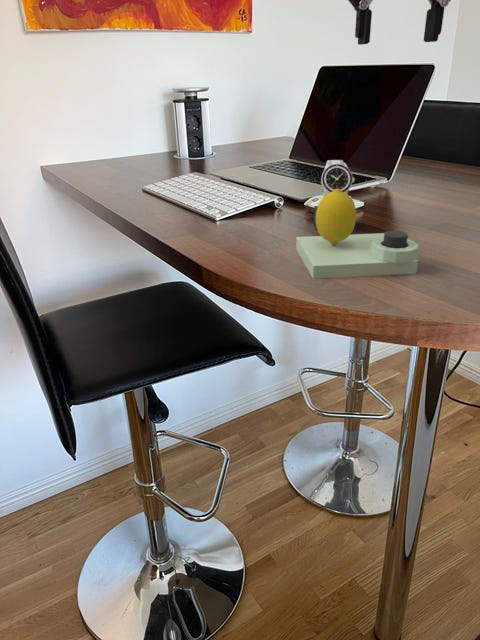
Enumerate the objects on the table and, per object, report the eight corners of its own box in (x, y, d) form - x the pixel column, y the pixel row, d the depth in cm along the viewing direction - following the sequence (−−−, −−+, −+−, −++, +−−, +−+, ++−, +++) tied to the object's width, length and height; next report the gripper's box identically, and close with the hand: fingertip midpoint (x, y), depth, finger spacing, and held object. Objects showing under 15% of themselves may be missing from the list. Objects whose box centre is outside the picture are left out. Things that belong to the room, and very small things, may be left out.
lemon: (348, 238, 74) (353, 183, 70) (357, 251, 69) (363, 193, 65) (311, 239, 74) (314, 184, 70) (317, 252, 69) (321, 194, 65)
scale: (388, 244, 77) (391, 222, 75) (421, 275, 66) (425, 250, 64) (295, 248, 76) (296, 226, 74) (313, 280, 65) (315, 255, 63)
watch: (317, 234, 82) (321, 165, 77) (312, 220, 89) (315, 156, 84) (351, 234, 82) (357, 165, 76) (344, 220, 89) (349, 156, 84)
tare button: (401, 242, 68) (402, 229, 67) (409, 249, 66) (411, 236, 65) (379, 243, 68) (381, 230, 67) (387, 250, 65) (389, 237, 65)
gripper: (464, -107, 66) (444, 41, 73) (335, -105, 64) (329, 46, 72) (496, -126, 59) (470, 39, 67) (353, -125, 58) (344, 44, 66)
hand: (397, 42), depth 70 cm, fingers open, 9 cm apart
